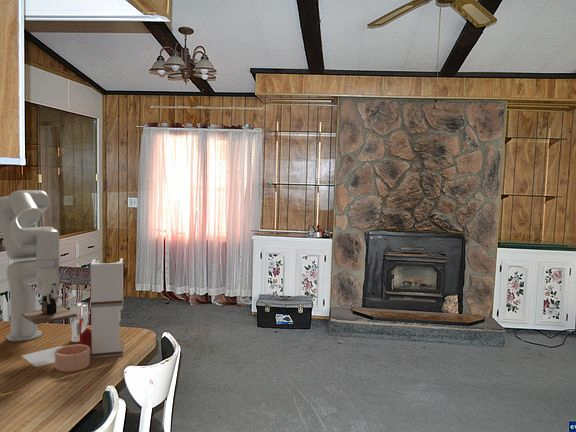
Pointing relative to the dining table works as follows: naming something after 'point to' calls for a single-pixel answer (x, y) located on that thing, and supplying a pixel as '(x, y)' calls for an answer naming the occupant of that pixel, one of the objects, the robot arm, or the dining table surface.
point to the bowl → (72, 357)
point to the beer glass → (78, 320)
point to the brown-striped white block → (106, 308)
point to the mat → (42, 357)
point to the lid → (42, 317)
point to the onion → (86, 337)
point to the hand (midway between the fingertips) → (49, 312)
